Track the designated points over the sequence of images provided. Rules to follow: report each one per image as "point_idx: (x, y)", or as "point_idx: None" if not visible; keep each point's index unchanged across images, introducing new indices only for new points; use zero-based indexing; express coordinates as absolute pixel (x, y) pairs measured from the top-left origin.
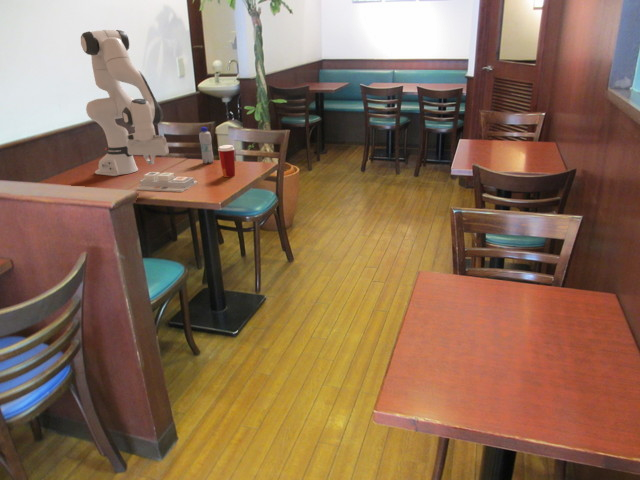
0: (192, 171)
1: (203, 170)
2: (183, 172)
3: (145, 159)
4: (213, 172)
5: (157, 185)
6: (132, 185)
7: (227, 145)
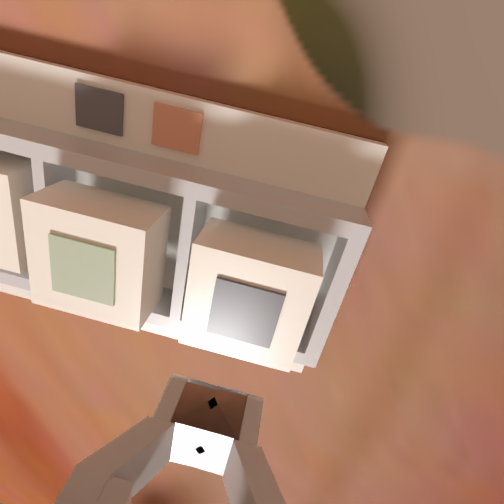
0: None
1: None
2: (184, 475)
3: (267, 471)
4: (20, 441)
5: (183, 167)
6: (463, 284)
7: None
